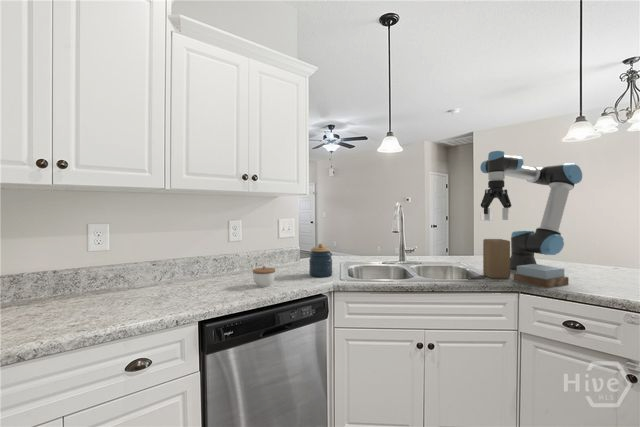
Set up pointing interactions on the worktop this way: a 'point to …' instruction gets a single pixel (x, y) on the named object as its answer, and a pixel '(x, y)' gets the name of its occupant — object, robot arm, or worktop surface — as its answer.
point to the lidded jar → (263, 276)
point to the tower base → (541, 280)
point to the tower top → (540, 271)
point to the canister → (320, 261)
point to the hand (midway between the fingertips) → (496, 220)
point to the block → (496, 258)
